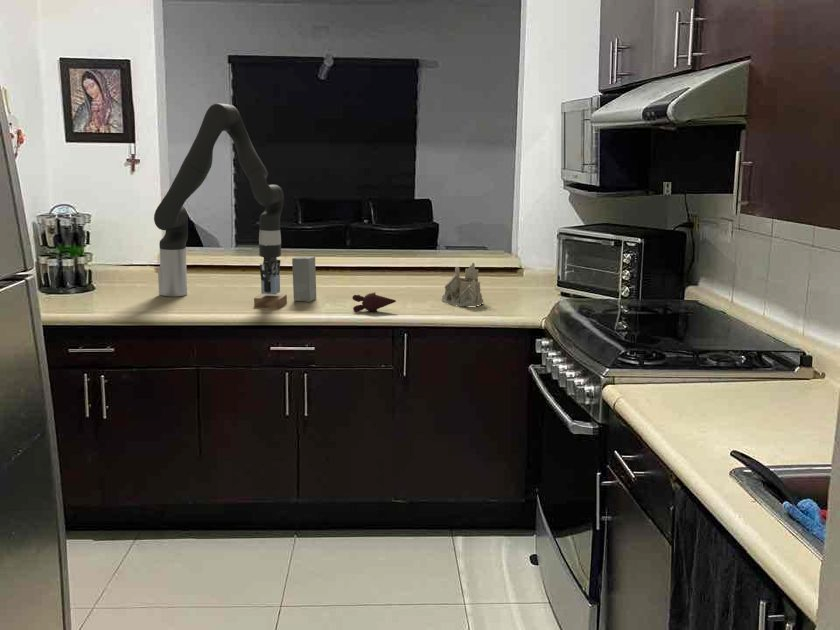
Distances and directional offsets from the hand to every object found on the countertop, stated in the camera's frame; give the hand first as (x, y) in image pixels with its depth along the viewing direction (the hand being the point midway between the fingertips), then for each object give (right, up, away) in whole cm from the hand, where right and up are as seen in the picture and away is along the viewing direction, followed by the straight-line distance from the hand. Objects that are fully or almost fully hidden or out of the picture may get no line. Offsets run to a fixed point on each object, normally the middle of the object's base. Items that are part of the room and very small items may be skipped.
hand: (270, 290), depth 306 cm
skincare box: (+10, -3, +12) cm, 16 cm away
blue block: (0, -1, 0) cm, 1 cm away
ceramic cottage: (+68, -4, +14) cm, 70 cm away
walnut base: (0, -5, +1) cm, 6 cm away
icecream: (+37, -8, -5) cm, 38 cm away
